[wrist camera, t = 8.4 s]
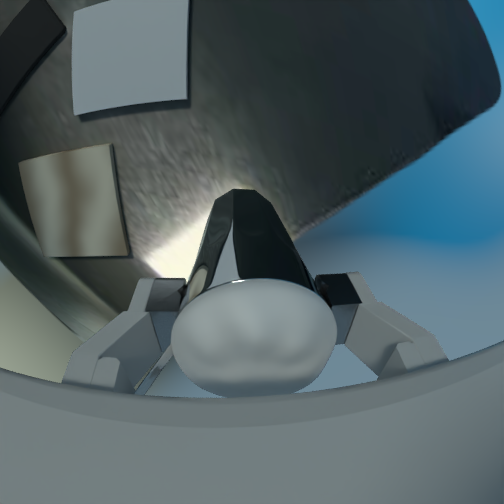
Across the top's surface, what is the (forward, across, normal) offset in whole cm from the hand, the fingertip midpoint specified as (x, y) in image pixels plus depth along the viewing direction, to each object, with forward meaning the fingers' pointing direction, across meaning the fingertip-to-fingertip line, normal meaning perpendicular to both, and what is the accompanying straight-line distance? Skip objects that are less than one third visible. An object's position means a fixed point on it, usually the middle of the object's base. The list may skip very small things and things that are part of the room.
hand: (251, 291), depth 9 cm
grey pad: (+19, +10, -11) cm, 24 cm away
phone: (+20, +25, -14) cm, 35 cm away
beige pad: (+19, +18, +4) cm, 26 cm away
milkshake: (+6, 0, 0) cm, 6 cm away
